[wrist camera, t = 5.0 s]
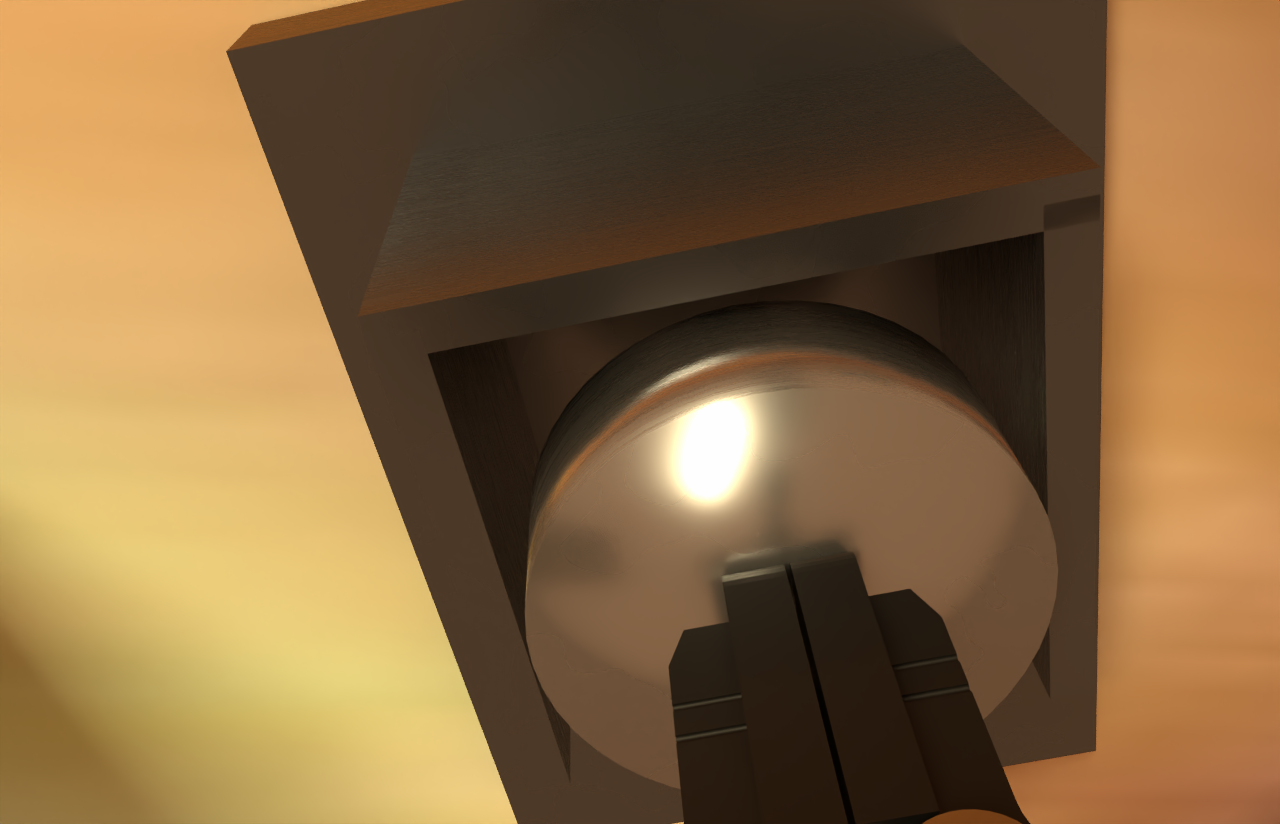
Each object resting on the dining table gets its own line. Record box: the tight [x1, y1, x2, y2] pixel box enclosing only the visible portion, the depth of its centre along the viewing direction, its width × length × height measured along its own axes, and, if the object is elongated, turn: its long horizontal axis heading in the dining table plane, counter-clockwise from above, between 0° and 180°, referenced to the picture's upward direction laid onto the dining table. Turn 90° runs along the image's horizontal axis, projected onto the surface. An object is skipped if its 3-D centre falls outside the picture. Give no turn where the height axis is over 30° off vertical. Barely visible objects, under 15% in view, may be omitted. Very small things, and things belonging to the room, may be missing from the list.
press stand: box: [226, 0, 1107, 824], centre depth 17 cm, size 17×12×10 cm
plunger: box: [525, 300, 1058, 789], centre depth 16 cm, size 12×6×4 cm, turn 11°
